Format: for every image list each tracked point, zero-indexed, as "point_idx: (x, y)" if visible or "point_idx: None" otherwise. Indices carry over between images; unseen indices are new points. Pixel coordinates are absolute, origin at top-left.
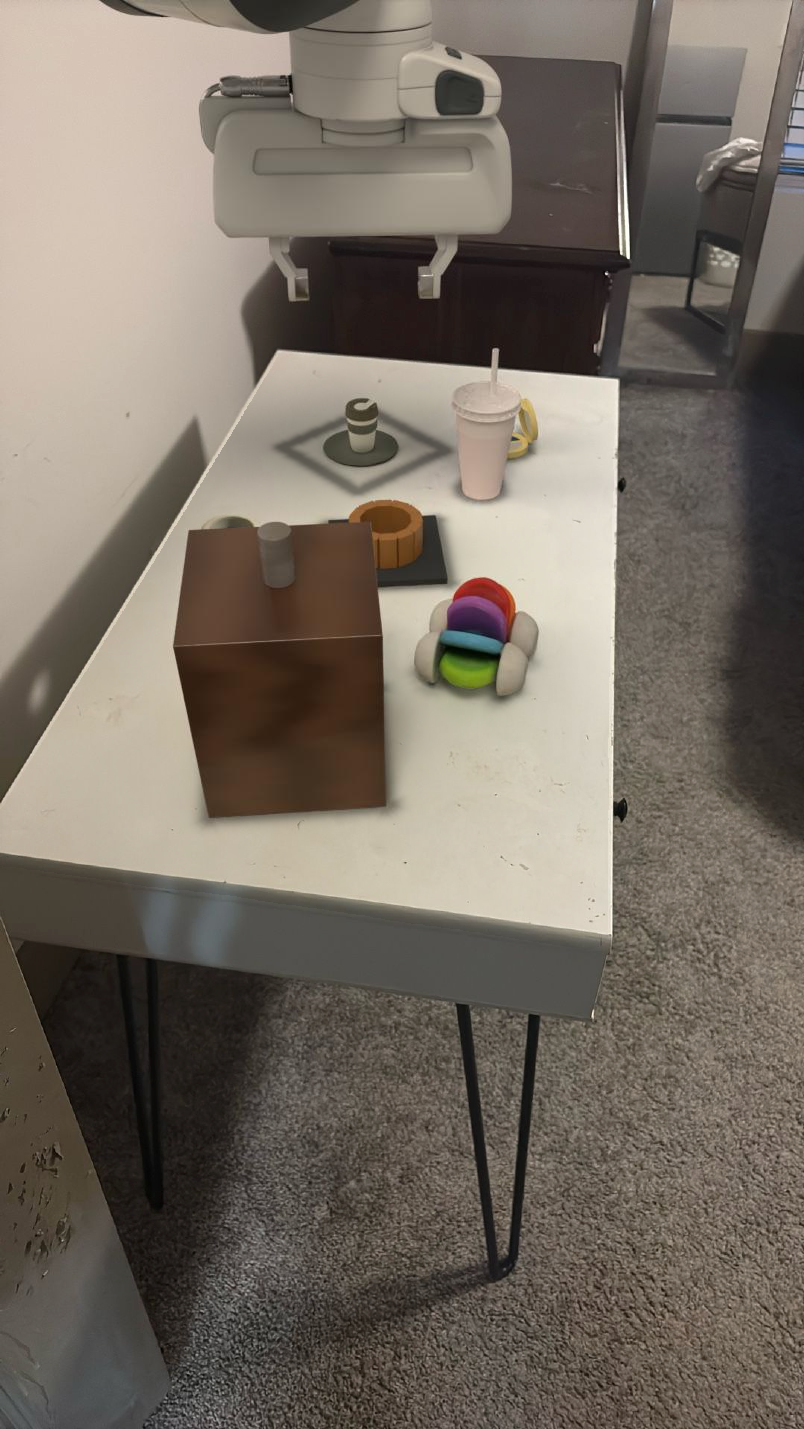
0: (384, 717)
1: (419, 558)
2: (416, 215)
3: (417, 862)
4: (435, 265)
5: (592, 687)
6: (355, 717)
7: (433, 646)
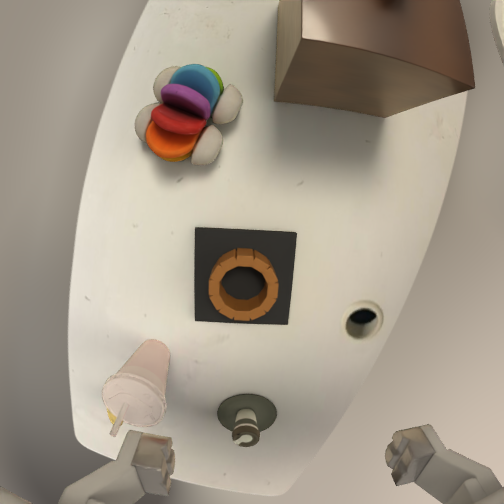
0: None
1: (215, 260)
2: None
3: None
4: (124, 482)
5: (115, 93)
6: None
7: (226, 90)
